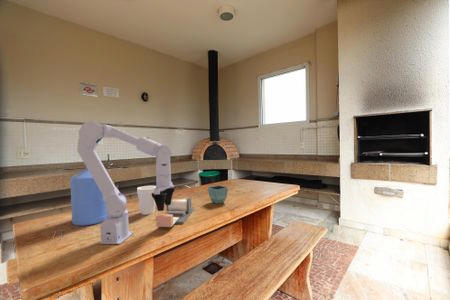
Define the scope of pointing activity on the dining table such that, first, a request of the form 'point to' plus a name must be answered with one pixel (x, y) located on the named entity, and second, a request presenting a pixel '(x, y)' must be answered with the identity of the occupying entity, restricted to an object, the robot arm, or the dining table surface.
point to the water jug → (86, 200)
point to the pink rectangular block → (166, 220)
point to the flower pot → (217, 194)
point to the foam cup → (146, 199)
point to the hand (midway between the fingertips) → (164, 207)
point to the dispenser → (180, 209)
